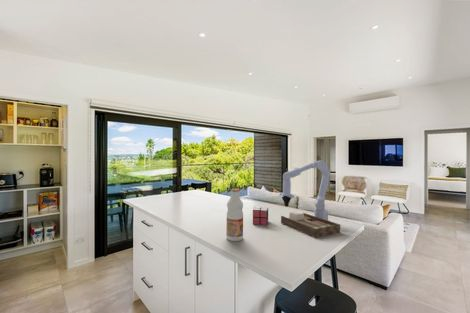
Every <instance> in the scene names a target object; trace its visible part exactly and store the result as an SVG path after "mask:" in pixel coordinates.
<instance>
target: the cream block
mask: <svg viewBox="0 0 470 313" xmlns="http://www.w3.org/2000/svg"><path fill="white" fill-rule="evenodd" d="M304 213H305V212H301V211H298V210H297V211H289V214H288V215H289V217H288V218H291V219H294V220H302V219H304Z"/></svg>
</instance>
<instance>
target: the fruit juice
mask: <svg viewBox="0 0 470 313" xmlns="http://www.w3.org/2000/svg"><path fill="white" fill-rule="evenodd" d="M230 192H231V193H230V194H231V195H230V198H229V199H228V200H227V204H226V209H227V211H226V233H225V234H226V236H225V237H226V239H227V240H228V241H231V242H239V241H242V240H243V237H244V212H243V208H244V203H243V201H242V199H241V197H240V188H231V189H230Z"/></svg>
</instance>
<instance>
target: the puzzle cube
mask: <svg viewBox="0 0 470 313" xmlns="http://www.w3.org/2000/svg"><path fill="white" fill-rule="evenodd" d="M268 223H269V207H265V206H264V207H263V206H262V207H261V206H254V207H253V209H252V225H257V224H258V225H259V226H268Z"/></svg>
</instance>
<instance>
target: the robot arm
mask: <svg viewBox="0 0 470 313" xmlns="http://www.w3.org/2000/svg"><path fill="white" fill-rule="evenodd" d="M310 169H318V170H319V171H320V172H321V173H322V177H321V181H320V185H319V189H318V195H317V198H316V199H315V201H314V205H315V206H314V208H313V209H314V210H313V216H315V217H318V218H321V219H324V220H328V221H329V211H328V209H326V203H325V200H326V194H327V189H328V186H329V181H330V177H331V171H330V168H329V167H328V164H327V163H326V162H325V161H323V160H317V161H312V162H310V163H308V164H306V165H303V166H301V167H293V169H290V170H287V171H286V172H284V173H283V174H282V192H279V196H281V199H282V200H283V201H282V202H283V204H284V207H285V208H286V207H287V208H288V207H289V204H290V201H291V199H295V195H293V194H291V191H292V189H291V184H292V183H291V179H293V178H295V177H298V176H300V175H301V173H303V172H304V171H308V170H310Z"/></svg>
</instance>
